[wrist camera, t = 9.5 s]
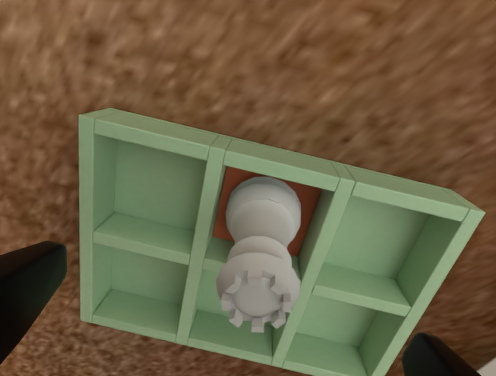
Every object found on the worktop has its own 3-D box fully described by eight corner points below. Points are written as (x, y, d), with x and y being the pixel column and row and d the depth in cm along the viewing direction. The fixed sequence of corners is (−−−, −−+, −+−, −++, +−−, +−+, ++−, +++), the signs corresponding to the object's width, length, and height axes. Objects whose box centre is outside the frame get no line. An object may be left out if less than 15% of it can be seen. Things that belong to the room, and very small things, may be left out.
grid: (104, 289, 22) (79, 320, 19) (109, 107, 17) (77, 114, 14) (363, 350, 22) (375, 390, 20) (451, 189, 17) (485, 212, 14)
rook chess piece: (272, 158, 16) (271, 231, 9) (314, 216, 18) (344, 322, 10) (213, 199, 18) (168, 291, 10) (255, 250, 19) (243, 366, 11)
